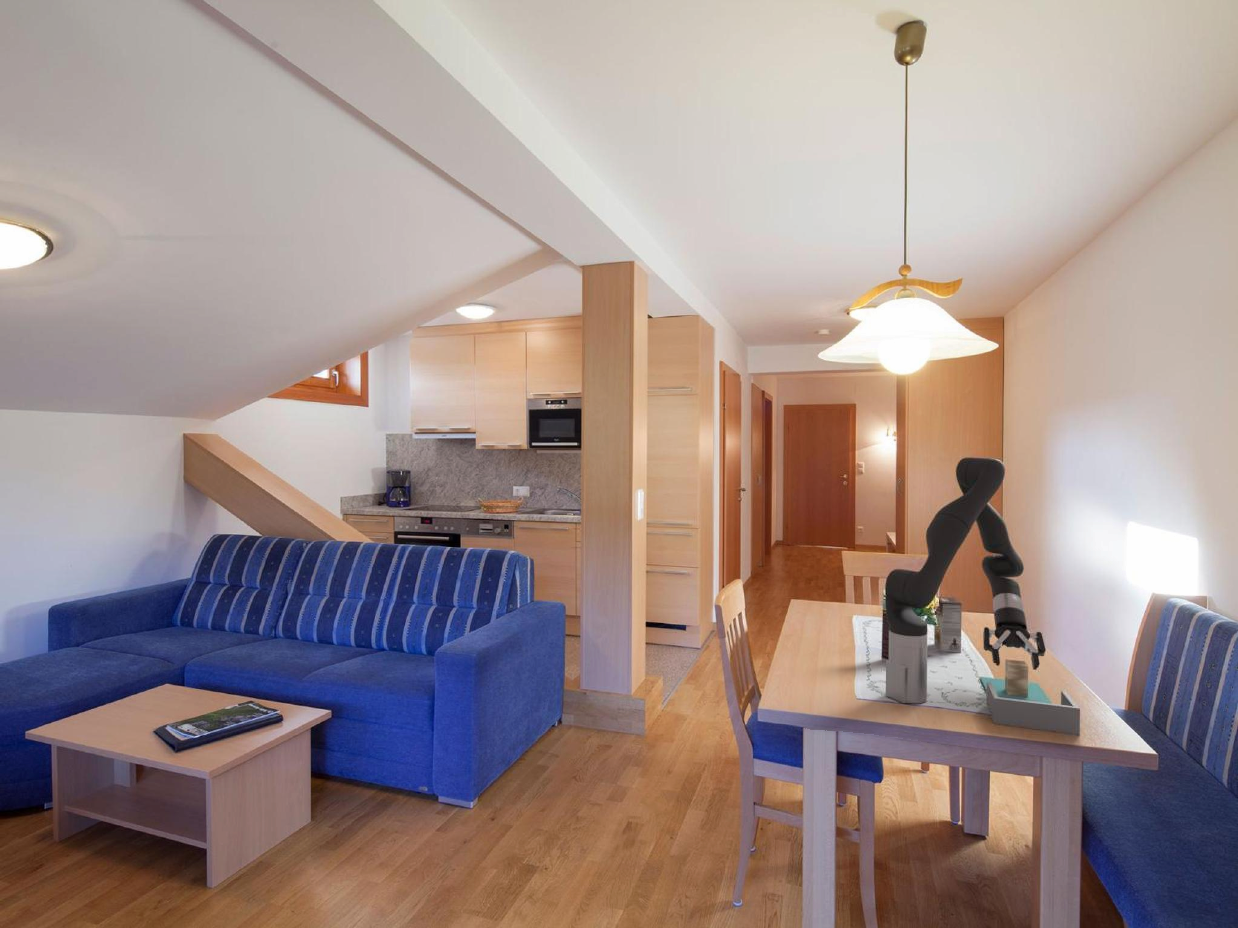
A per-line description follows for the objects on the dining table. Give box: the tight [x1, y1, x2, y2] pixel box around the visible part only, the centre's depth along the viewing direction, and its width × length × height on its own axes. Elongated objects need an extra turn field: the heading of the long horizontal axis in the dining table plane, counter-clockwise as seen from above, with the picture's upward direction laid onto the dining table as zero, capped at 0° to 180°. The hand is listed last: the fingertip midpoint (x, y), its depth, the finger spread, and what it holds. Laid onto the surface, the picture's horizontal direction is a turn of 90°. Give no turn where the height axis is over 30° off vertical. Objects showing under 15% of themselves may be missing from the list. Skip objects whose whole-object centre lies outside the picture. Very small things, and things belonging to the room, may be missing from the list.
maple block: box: [1004, 658, 1029, 697], centre depth 174 cm, size 4×4×8 cm
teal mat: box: [979, 676, 1053, 704], centre depth 176 cm, size 14×18×1 cm
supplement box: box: [881, 608, 916, 663], centre depth 203 cm, size 9×5×16 cm, turn 105°
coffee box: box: [933, 596, 963, 653], centre depth 217 cm, size 9×6×16 cm
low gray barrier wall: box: [986, 682, 1081, 736], centre depth 158 cm, size 17×12×6 cm
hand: (1016, 666), depth 174 cm, fingers open, 8 cm apart
